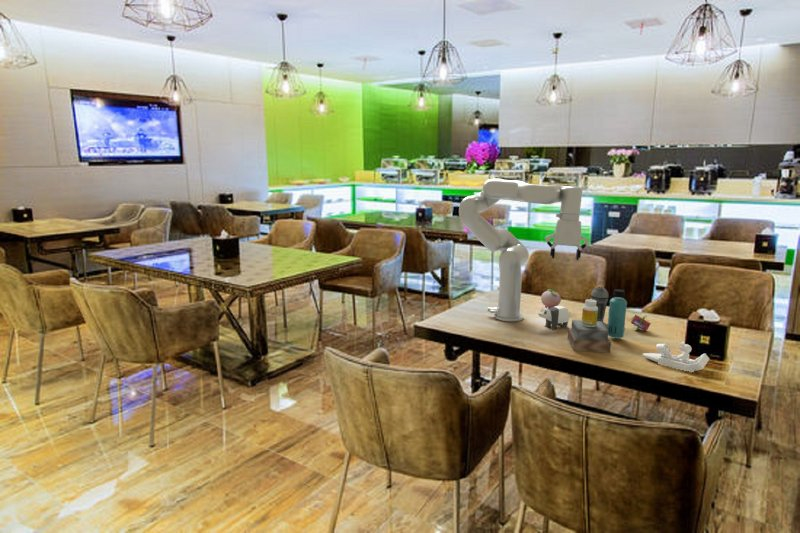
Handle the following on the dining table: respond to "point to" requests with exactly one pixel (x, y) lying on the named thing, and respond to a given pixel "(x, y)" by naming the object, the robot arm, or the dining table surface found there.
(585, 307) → the supplement bottle
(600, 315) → the beverage cup
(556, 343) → the dining table surface
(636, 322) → the geometric puzzle
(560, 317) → the giant panda
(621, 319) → the beverage bottle
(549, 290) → the decorative fruit
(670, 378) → the dining table surface
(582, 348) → the mottled stone block
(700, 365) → the toy boat
